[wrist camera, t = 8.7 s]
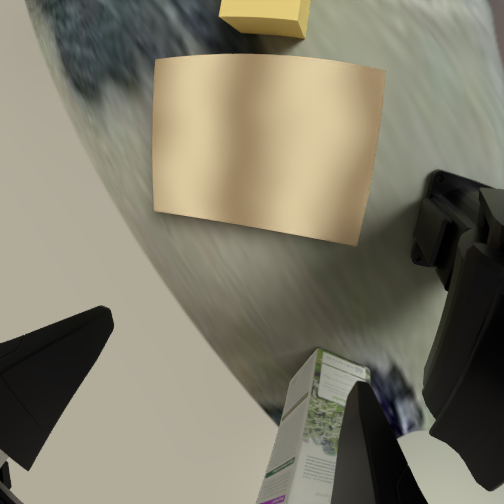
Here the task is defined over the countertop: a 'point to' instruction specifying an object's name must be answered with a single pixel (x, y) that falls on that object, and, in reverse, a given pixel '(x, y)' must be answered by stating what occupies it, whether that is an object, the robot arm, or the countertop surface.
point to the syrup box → (310, 431)
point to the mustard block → (267, 16)
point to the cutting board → (266, 141)
